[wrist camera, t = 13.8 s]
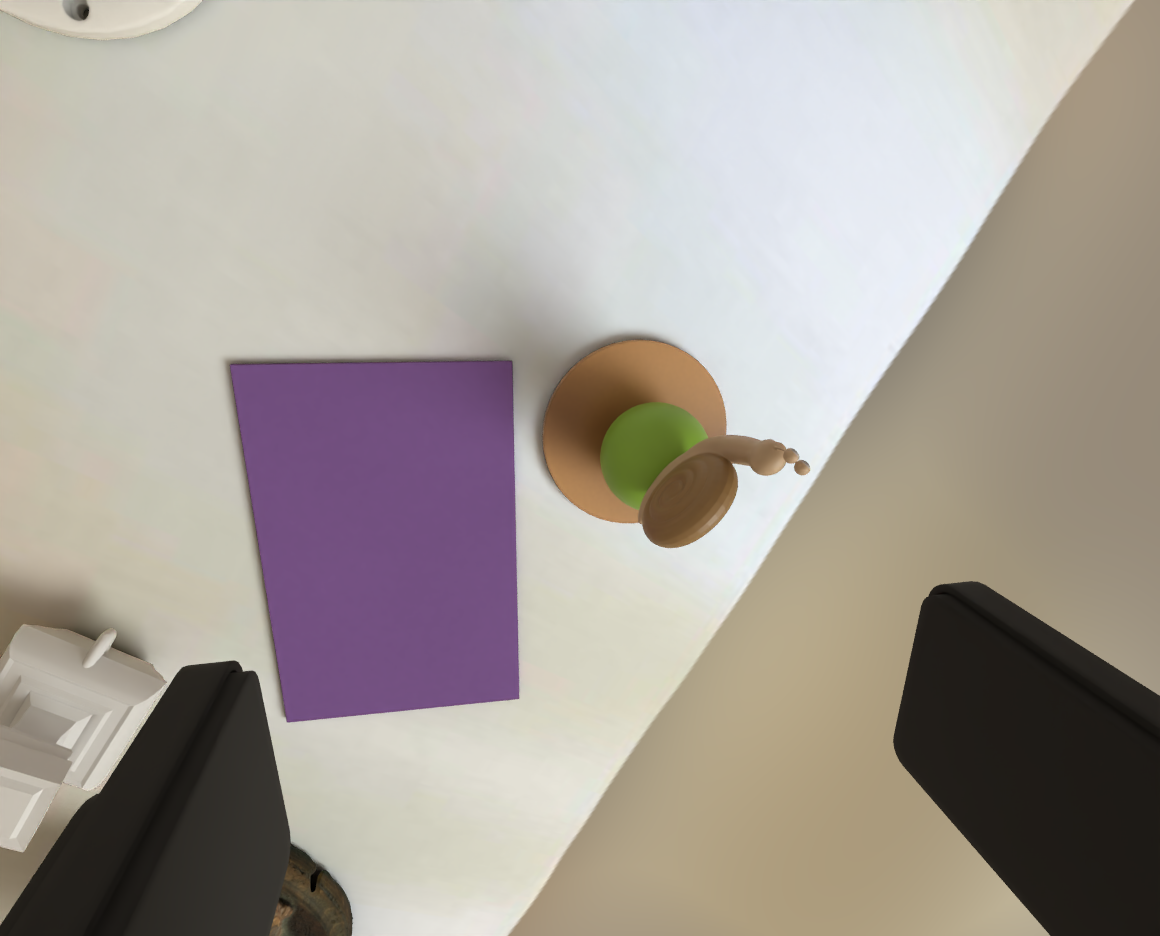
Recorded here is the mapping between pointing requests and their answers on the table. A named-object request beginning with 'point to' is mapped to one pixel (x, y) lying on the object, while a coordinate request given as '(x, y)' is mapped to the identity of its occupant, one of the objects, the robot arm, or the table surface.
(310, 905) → the owl figurine
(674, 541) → the snail figurine
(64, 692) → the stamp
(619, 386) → the coaster
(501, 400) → the cloth
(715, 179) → the table surface
